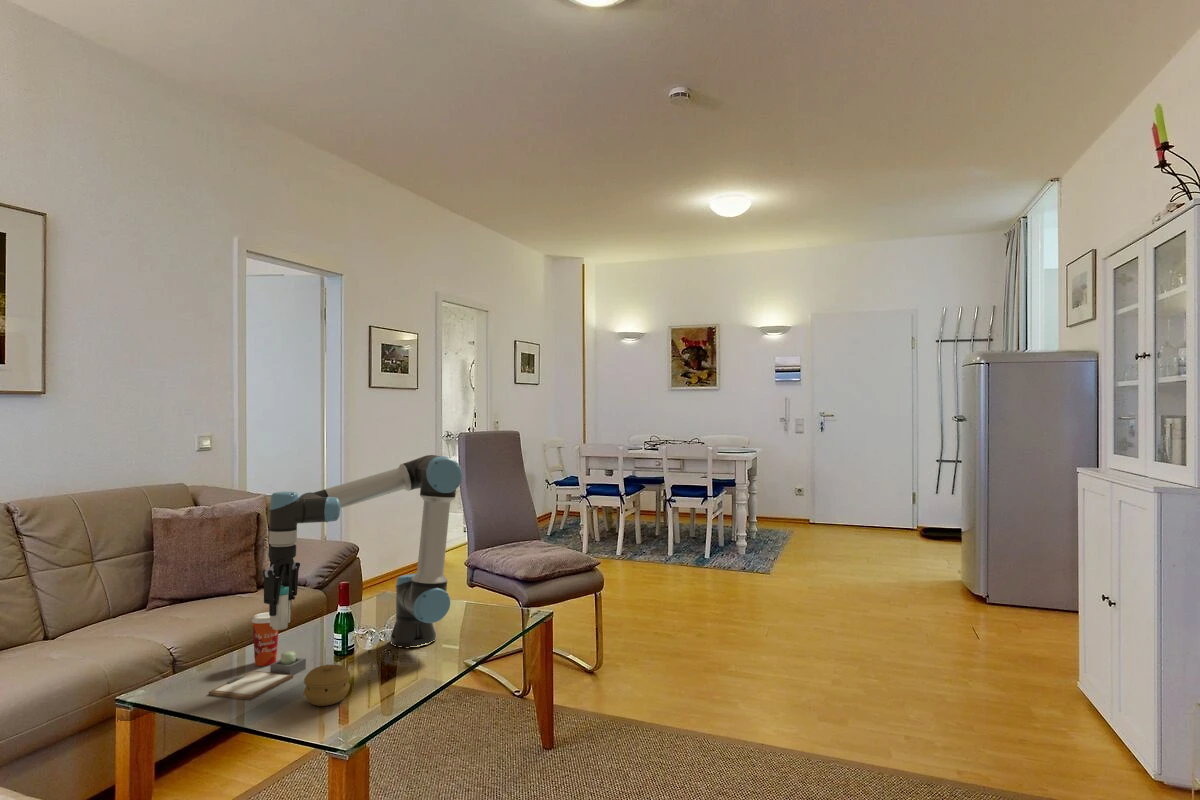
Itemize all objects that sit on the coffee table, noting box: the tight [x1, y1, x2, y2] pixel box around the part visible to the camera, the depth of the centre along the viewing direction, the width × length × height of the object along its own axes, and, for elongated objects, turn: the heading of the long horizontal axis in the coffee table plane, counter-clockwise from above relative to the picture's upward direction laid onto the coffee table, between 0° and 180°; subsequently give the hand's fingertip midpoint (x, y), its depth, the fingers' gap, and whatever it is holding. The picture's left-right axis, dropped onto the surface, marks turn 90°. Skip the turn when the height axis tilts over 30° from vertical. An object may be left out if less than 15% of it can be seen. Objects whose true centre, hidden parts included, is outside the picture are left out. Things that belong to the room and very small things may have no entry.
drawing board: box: [208, 670, 294, 701], centre depth 201 cm, size 14×17×2 cm
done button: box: [280, 650, 297, 665], centre depth 212 cm, size 4×4×4 cm
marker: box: [272, 584, 289, 631], centre depth 206 cm, size 4×4×12 cm
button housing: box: [269, 657, 307, 676], centre depth 212 cm, size 7×7×3 cm
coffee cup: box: [251, 611, 280, 667], centre depth 220 cm, size 8×8×15 cm
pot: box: [303, 664, 351, 707], centre depth 190 cm, size 12×12×10 cm
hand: (280, 624), depth 205 cm, fingers closed on marker, 4 cm apart
